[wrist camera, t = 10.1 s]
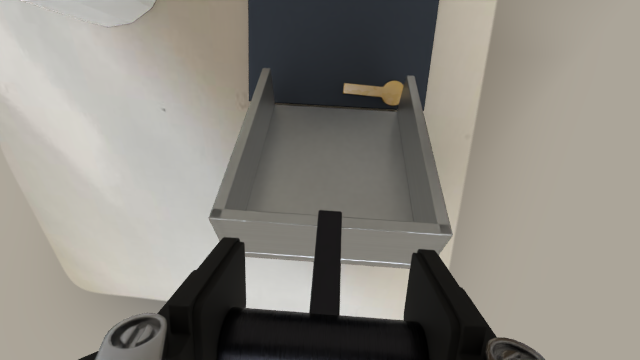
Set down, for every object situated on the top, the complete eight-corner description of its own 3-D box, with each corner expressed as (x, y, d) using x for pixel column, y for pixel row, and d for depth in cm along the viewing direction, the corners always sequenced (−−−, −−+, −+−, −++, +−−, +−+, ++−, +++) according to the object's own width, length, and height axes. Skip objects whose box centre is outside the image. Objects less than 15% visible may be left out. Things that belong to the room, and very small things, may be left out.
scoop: (451, 407, 12) (529, 393, 8) (189, 384, 13) (121, 359, 8) (402, 117, 25) (422, 46, 20) (268, 110, 25) (258, 38, 20)
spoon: (406, 82, 30) (407, 81, 30) (402, 106, 31) (403, 106, 30) (344, 75, 30) (344, 75, 30) (341, 100, 31) (342, 100, 30)
